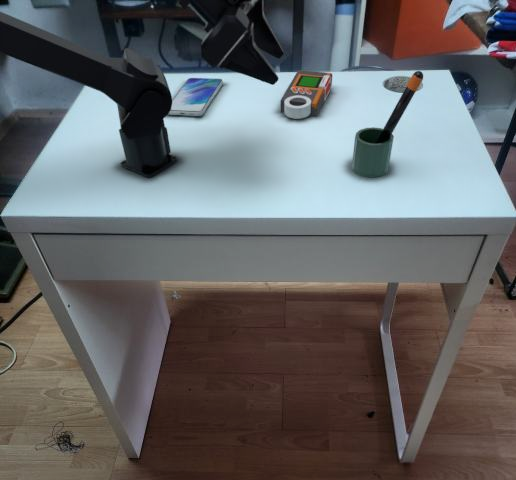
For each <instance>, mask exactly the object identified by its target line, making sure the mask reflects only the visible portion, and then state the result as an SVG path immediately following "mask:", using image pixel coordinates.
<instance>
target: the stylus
mask: <svg viewBox="0 0 516 480" xmlns="http://www.w3.org/2000/svg"><path fill="white" fill-rule="evenodd" d="M423 80H424V73H423V72H422V71H421V70H416V71H415V72H414V73H413V74H412V75H411V77H410V79H409V80H408V82H407V83H406V87H405V89H404V91H403V92H402V94H401V95H400V98H399V99H398V101H397V103H396V105H395V106H394V108H393V110H392V112H391V114H390V116H389V118H388V119H387V121H386V123H385V125H384V127H383V128H382V129H383V130H382V132H381V134H380V136H379V138H378V140H377V141H376V143H375V144H379V143H384V142H387V141H388V140H389V138H390V136H391V134H393V133H394V131H395V129H396V127H397V125H398V124H399V122H400V121H401V118H402V117H403V115H404V113H405V111H406V110H407V108H408V106H409V104H410V103H411V101H412V99H413V97H414V95H415V94H416V92H417V91H418V89H419V87H420V86H421V84H422V82H423Z"/></svg>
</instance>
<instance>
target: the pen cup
mask: <svg viewBox="0 0 516 480" xmlns="http://www.w3.org/2000/svg"><path fill="white" fill-rule="evenodd" d="M383 129H384V128H381V127H375V126H374V127H364V128H361V129H359V130H357V132H356V133H355V136H354V144H353V151H352V160H351V170H352V171H353V172H354V173H355V174H356V175H358V176H361V177H365V178H379V177H382V176H384V175H385V174H387V173H388V171H389V167H390V166H389V165H390V162H391V161H390V160H391V156H392V149H393V144H394V138H395V136H394V134H393V133H392V134H391V136H390V138H389V140H388V141H387V142H384V143H379V144H375V143H376V141H377V140H378V138H379V136H380V134H381V132H382V130H383Z"/></svg>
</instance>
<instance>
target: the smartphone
mask: <svg viewBox="0 0 516 480" xmlns="http://www.w3.org/2000/svg"><path fill="white" fill-rule="evenodd" d="M223 84H224V81H223V79H222V78H206V77H204V78H203V77H190V78H187V79H186V81H185V82H184V84H183V85H182V86H181V87H180V89H179V90H178V91H177V93H176V94H175V95H174V97H172V107H171V110H170V112H169V114H168V116H169V115H171V116H172V115H173V116H192V117H193V116H194V117H199V116H200V117H201V116H202V115H204V113H205V112H206V110H207V109H208V107H209V105H210V104H211V103H212V101H213V99H214V98H215V96H216V94H217V93H218V91H219V90H220V89H221V87H222V85H223Z"/></svg>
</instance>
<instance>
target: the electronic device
mask: <svg viewBox="0 0 516 480" xmlns="http://www.w3.org/2000/svg"><path fill="white" fill-rule="evenodd" d="M332 85H333V73H331V72H325V71H314V70H313V71H312V70H302V69H297V71H296V73H295V75H294V76H293V78H292V80H291V81H290V83H289V84H288V86H287V88H286V90H285V91H284V93H283V95H282V97H281V99H280V113H283V114H284V115H285V116H286V117H288V118H289V119H295V120H296V119H299V120H300V119H304V118H307V117H318V114H319V113H320V111H321V109H322V106H323V105H324V103H325V102H326V100H327V98H328V96H329V93H330V92H331V87H332Z"/></svg>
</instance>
